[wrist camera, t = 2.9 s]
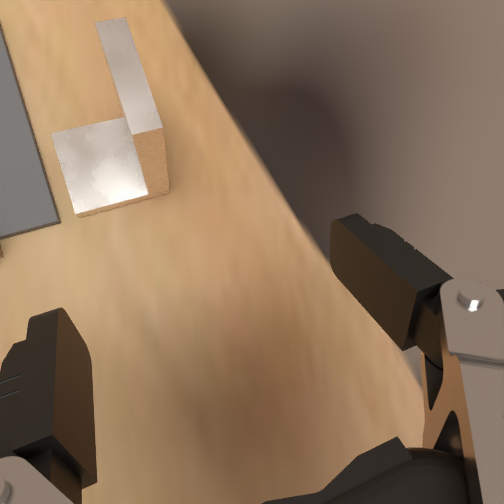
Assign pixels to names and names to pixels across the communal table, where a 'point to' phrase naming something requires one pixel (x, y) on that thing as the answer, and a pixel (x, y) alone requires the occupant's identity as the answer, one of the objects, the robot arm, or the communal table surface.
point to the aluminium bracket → (116, 137)
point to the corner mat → (20, 161)
